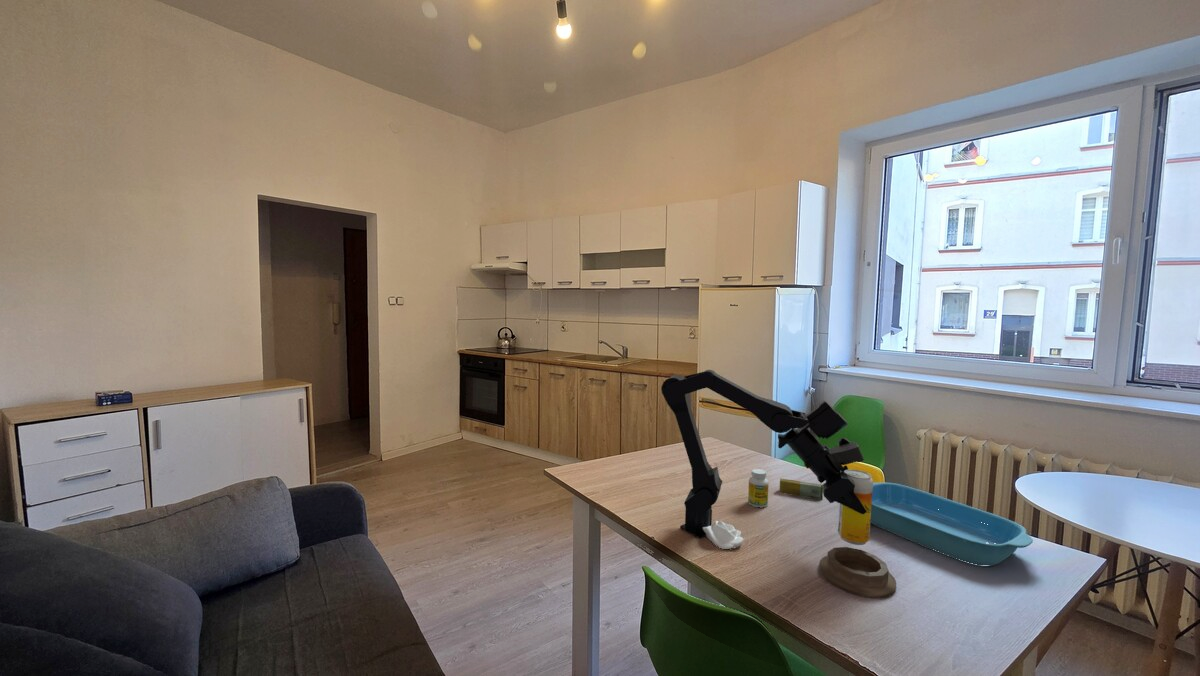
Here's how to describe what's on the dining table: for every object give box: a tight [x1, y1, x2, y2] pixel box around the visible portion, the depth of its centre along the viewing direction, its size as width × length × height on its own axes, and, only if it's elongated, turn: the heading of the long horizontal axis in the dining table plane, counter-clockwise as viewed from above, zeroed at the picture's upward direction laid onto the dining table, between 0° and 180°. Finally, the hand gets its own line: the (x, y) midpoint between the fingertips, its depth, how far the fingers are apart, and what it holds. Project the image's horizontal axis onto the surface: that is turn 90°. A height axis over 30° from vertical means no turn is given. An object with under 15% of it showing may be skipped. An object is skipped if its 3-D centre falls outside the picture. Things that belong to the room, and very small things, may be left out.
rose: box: [702, 520, 744, 550], centre depth 110 cm, size 10×4×10 cm
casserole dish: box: [870, 482, 1034, 566], centre depth 115 cm, size 37×22×7 cm, turn 31°
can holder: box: [818, 546, 897, 599], centre depth 96 cm, size 14×14×4 cm
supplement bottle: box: [747, 468, 770, 509], centre depth 131 cm, size 5×5×10 cm
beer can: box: [837, 469, 874, 546], centre depth 102 cm, size 6×6×15 cm
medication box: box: [778, 478, 824, 501], centre depth 138 cm, size 12×3×4 cm, turn 66°
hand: (862, 507), depth 101 cm, fingers closed on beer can, 6 cm apart
